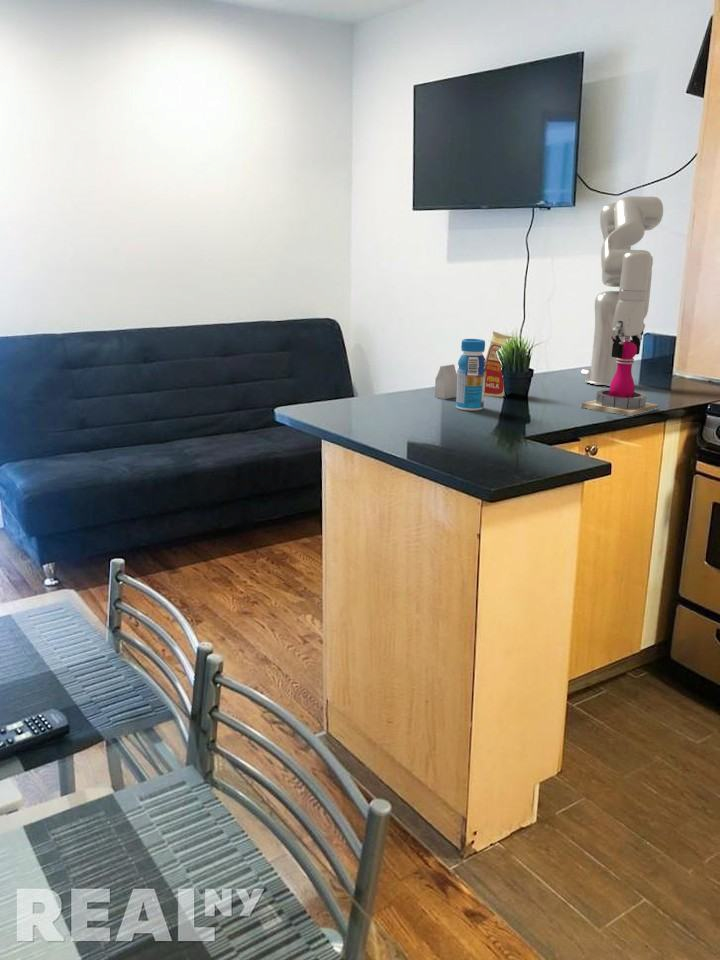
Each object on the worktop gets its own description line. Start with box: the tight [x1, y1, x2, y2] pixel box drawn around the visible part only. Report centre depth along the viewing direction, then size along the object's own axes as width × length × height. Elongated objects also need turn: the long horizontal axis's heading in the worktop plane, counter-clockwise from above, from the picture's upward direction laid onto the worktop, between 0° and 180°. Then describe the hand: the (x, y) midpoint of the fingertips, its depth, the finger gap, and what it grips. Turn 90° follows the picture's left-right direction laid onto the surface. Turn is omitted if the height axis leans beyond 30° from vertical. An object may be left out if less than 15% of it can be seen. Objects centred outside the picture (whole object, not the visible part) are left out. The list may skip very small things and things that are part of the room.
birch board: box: [581, 399, 659, 416], centre depth 243 cm, size 16×16×2 cm
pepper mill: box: [608, 337, 637, 398], centre depth 240 cm, size 7×7×20 cm
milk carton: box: [484, 330, 516, 398], centre depth 260 cm, size 9×9×20 cm
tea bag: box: [434, 364, 457, 400], centre depth 255 cm, size 4×7×10 cm, turn 137°
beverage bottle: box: [455, 338, 486, 412], centre depth 237 cm, size 8×8×20 cm
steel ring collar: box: [595, 389, 647, 409], centre depth 242 cm, size 14×14×3 cm
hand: (625, 355), depth 239 cm, fingers open, 9 cm apart
